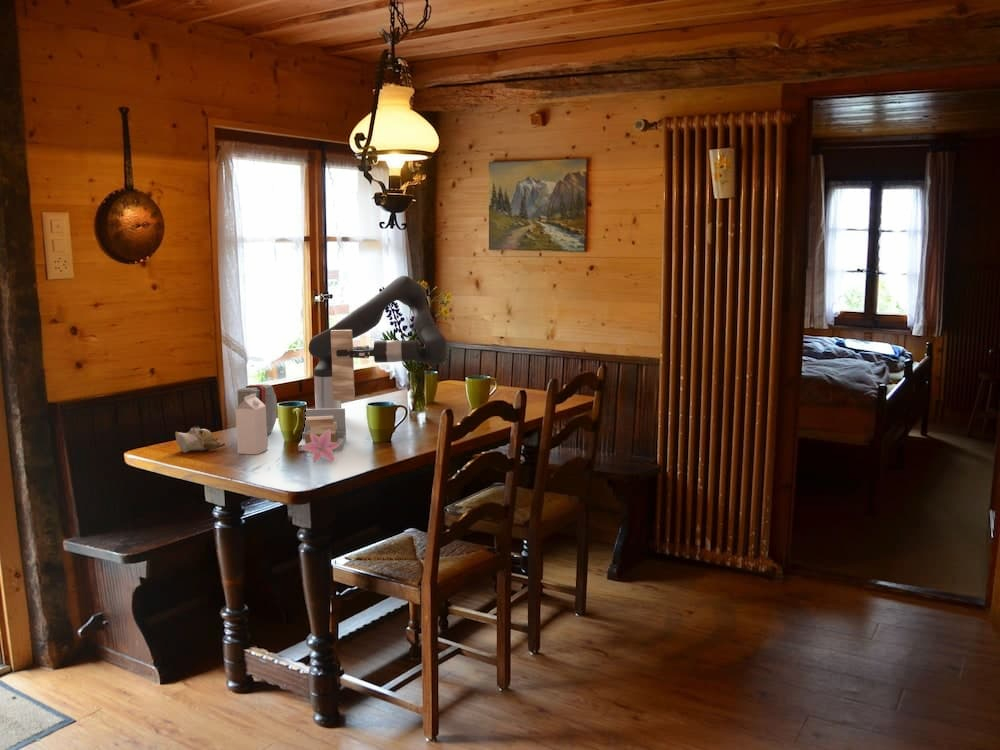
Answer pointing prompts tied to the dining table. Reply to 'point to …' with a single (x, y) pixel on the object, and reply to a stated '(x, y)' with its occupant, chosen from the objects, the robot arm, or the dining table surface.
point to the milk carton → (251, 426)
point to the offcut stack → (321, 427)
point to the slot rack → (337, 417)
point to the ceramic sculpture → (197, 440)
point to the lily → (321, 446)
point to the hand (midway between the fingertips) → (337, 352)
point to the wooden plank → (342, 366)
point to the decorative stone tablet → (266, 397)
